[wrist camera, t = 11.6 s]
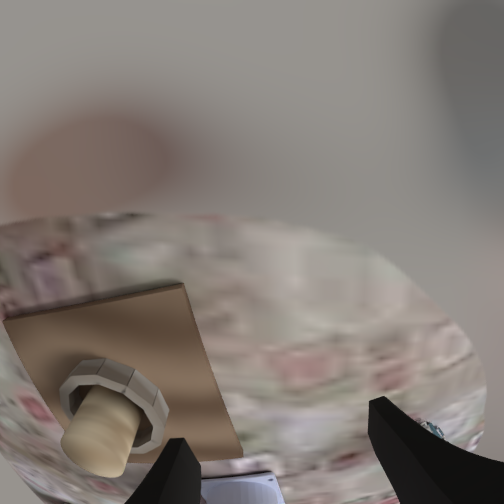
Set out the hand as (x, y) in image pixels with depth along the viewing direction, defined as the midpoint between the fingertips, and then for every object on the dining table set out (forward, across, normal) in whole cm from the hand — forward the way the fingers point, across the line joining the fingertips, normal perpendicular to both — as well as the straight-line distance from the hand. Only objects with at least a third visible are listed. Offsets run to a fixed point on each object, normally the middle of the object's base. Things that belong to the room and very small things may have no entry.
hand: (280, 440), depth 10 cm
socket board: (+9, +12, +4) cm, 16 cm away
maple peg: (+9, +12, +4) cm, 15 cm away
